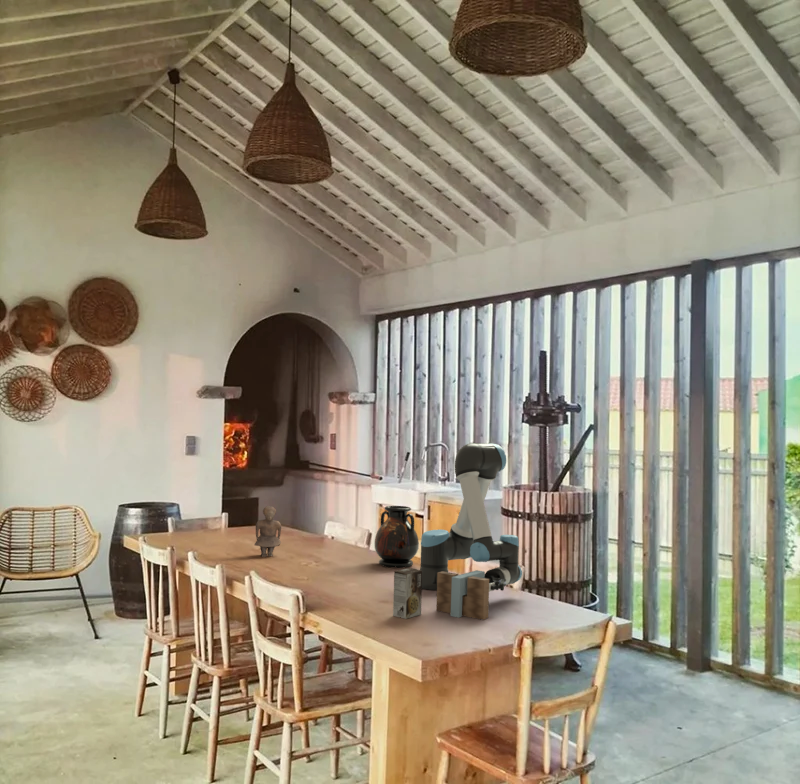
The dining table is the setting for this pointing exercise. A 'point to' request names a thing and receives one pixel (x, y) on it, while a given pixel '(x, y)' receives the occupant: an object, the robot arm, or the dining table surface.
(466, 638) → the dining table surface
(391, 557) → the amphora vase
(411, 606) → the coffee box
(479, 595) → the u-shaped checkered block
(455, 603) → the light blue block
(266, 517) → the clay figurine
